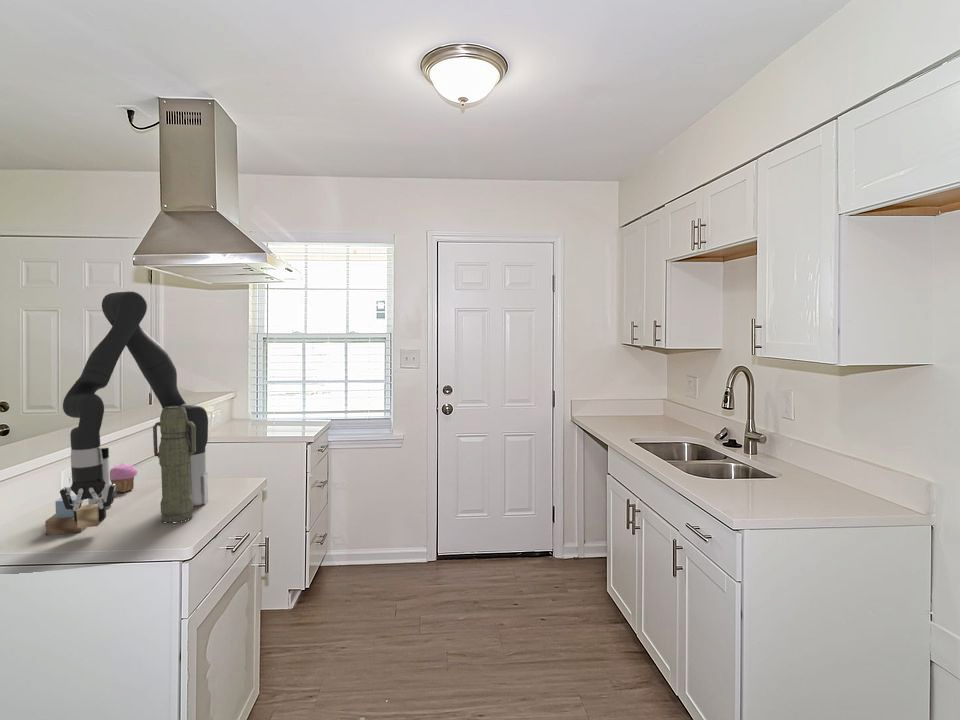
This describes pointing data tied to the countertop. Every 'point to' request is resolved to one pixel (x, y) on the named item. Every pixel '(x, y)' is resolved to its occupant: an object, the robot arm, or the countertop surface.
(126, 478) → the cupcake
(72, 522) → the walnut plinth
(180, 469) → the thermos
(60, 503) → the slate block
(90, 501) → the travel mug
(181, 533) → the countertop surface
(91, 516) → the oak block
